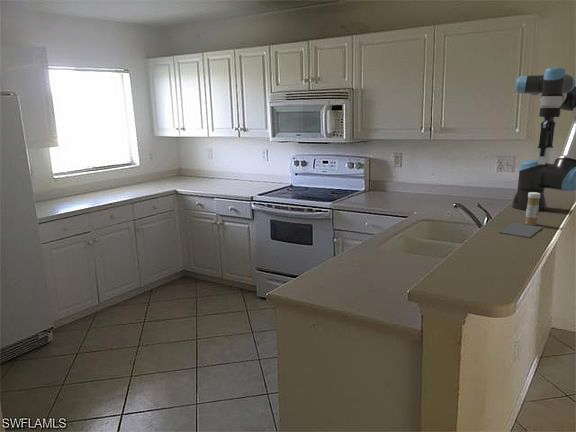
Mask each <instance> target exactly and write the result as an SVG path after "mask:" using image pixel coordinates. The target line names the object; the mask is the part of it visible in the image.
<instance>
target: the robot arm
mask: <svg viewBox="0 0 576 432" xmlns="http://www.w3.org/2000/svg"><path fill="white" fill-rule="evenodd" d="M566 71H567V70H566V68H564V67H549V68H546V69H545V70H544V74H542V75H540V74H539V75H520V76H519V77H518V78H517V79H516V81H515V91H516V92H517V94H529V95H531V96H533V97H536V98H539V102H540V108H539V114H538V115H539V117H541V118H543V121H542V122H541V123H540V135H539V142H538V146H537V149H539V151H538V152H539V153H538V158H537V159H538V160H537V159H534V160H525V161H522V162H521V163H520V165H519V170H518V182H517V190H516V193H515V195H514V197H513V198H512V201H511V207H512V208H514V209H517V210H525V211H526V210H527V203H528V193H529V192H537V193H540V199H539V209H538V212H541V211H545V210H546V209H547V201H546V197H545V189H547V190H548V189H549V190H556V191H563V192H567V191H569V192H575V191H576V79H575V78H574V76H573V75H570V74H568V73H566ZM562 110H563V111H566V112H567V111H569V112H572V113H573V115H574V117H573V119H572V123H571V125H570V128H569V130H568V134H567V136H566V139H565V142H564V145H563V147H562V150H561V153H560V155H559V156H558V157H556V158H555V159H554V162H553V163H550V157H551V150H552V149H551V148H554V146H553V145H554V144H553V143H554V134H555V127H556V121H555V118H559V117H560V116H561V111H562Z"/></svg>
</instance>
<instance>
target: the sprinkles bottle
mask: <svg viewBox="0 0 576 432" xmlns="http://www.w3.org/2000/svg"><path fill="white" fill-rule="evenodd" d="M539 199H540V193H537V192H529V193H528V203H527V210H525V211H526V212H525V220H524V221H525V222H524V224H525V225H532V226H537V225H538V224H537V222H538V215H539V211H538V209H539Z"/></svg>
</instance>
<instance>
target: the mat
mask: <svg viewBox="0 0 576 432" xmlns="http://www.w3.org/2000/svg"><path fill="white" fill-rule="evenodd" d="M543 228H544V227H543V226H537V225H527V224H525V223H524V224H523V223H518V222H514V223H511V224H510V225H508V226H507V227H504V228H503V229H502V230H500V231H499V232H498V233H499V234H503V235H509V236H514V237H521V238H527V239H530V238H532V237H533V236H534V235H536V234H538V232H540V231H541V230H543Z"/></svg>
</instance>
